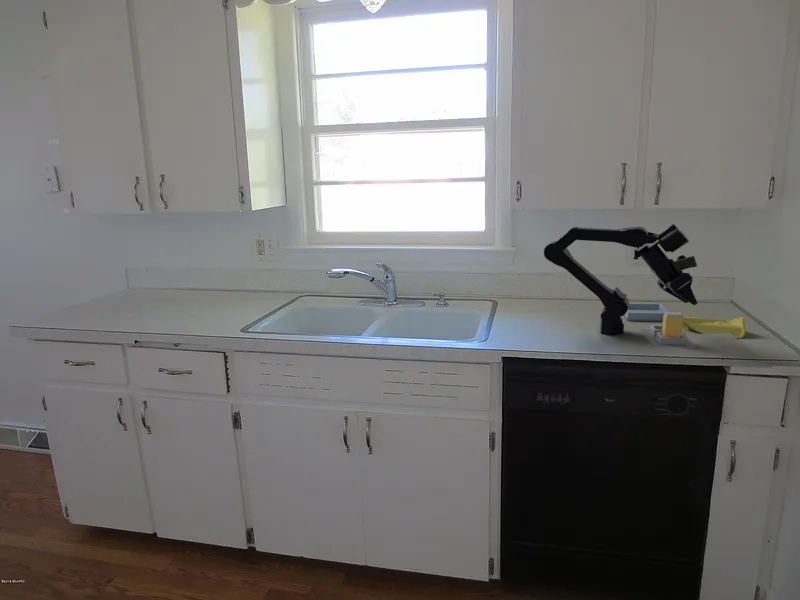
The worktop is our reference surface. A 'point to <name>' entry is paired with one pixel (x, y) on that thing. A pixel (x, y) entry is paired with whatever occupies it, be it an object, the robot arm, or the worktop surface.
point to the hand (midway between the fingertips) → (691, 303)
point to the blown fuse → (672, 325)
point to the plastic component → (715, 326)
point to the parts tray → (645, 312)
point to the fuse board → (665, 338)
